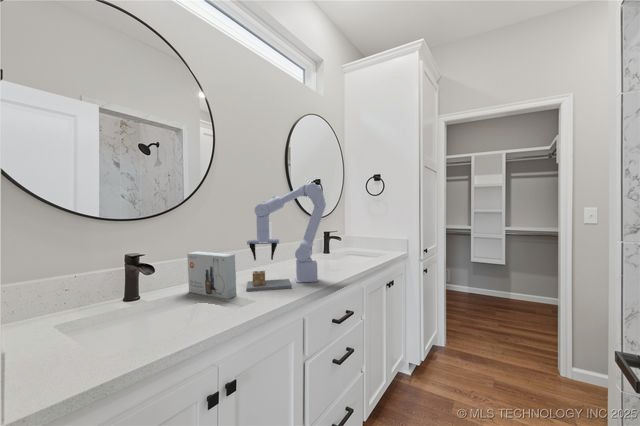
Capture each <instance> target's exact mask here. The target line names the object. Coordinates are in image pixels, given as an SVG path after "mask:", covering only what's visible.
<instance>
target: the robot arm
mask: <svg viewBox="0 0 640 426" xmlns="http://www.w3.org/2000/svg"><path fill="white" fill-rule="evenodd" d="M299 197H308V198H309V199H310V200H311V202H312V204H313V209H312V211H311V215H310V218H309V221H308V224H307V227H306V229H305V232H304V236H303V238H302V241H301V243H300V244H299V247H298V248H297V249H296V250H295V252H294V254H295V259H296V260H295V266H296V267H295V268H296V269H295V271H296V276H295V278H294V280H295V282H296V283H297V284H298V283H312V282H314V283H315V282H318V281H319V280H318V262H317V260H313V258H312V254H313V245H314V241H315V238H316V235H317V232H318V230H319V226H320V223H321V220H322V218H323V215H324V212H325V209H326V206H327V205H326V204H327V202H326V199H325V196H324V191H323V189H322V188H321V187H320V186H319V185H318V184H316V183H315V182H309V183H307V184H304V185H302V186H299V187H297V188H296V189H293V190H291V191H290V192H288V193H287V194H284V195H283V196H279V195H277V196H276V195H274V196H272V198H271V199H268V200H267V201H266V200H264V201H263V203H258V204H257V205H256V206H255V207H254V213H255V215H256V239H247V240H246V245H247V246H249V248H250V251H251V252H252V255H253V261H257V256H256V245H268V244H269V245H270V248H271V249H270V250H271V255H270V259H271V260H272V261H273V259H274V254H275V251H276V249H277V246H278V244H280V238H278V239H277V238H272V239H271V238H270V218H269V217H270V214H272V213H274V212H277V211H279V210H280V209H283V208H284V207H285V204H286V203H289V202H292V201H293V200H295V199H297V198H299Z"/></svg>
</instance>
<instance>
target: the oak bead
mask: <svg viewBox="0 0 640 426" xmlns="http://www.w3.org/2000/svg"><path fill="white" fill-rule="evenodd" d="M258 271H259V270H254V271H252V281H253V286H260V285H265V280H266V270H260V271H261V273H257V272H258Z"/></svg>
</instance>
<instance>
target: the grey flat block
mask: <svg viewBox="0 0 640 426" xmlns="http://www.w3.org/2000/svg"><path fill="white" fill-rule="evenodd" d="M257 271H258V272H257V273H261V271H262V270H257ZM246 283H247V284H246V287H245V288H246V289H245V291H246V293H247V292H259V291H274V290H287V289H289V290H290V289H293V286H292V283H291V280H290V279H289V278H285V279H284V278H282V279H281V278H279V279H265V285H260V286H253V280H249V281H247V282H246Z"/></svg>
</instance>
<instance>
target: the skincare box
mask: <svg viewBox="0 0 640 426" xmlns="http://www.w3.org/2000/svg"><path fill="white" fill-rule="evenodd" d="M186 254H187V275H188V276H187V277H188V292H189V293H193V294H198V295H203V296H209V297H215V298H220V299H226V300H227V299H231V298H233V297H236V296H237V294H238V293H237V274H236V254H234V253H224V252H209V251H193V252H187V253H186Z"/></svg>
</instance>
